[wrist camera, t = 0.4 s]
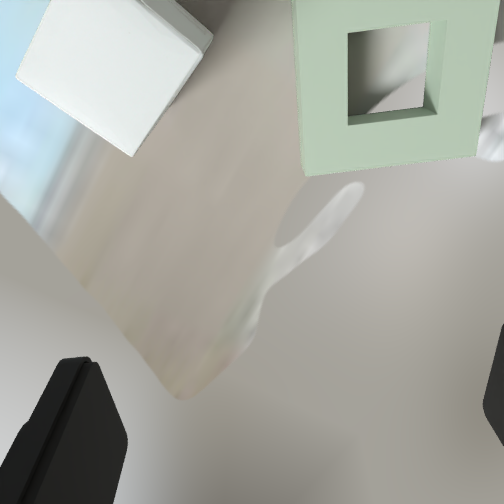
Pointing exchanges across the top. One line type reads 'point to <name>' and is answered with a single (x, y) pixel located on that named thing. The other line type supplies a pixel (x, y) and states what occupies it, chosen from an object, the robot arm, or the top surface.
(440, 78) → the socket plate
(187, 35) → the supplement box
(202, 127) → the top surface
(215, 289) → the top surface
